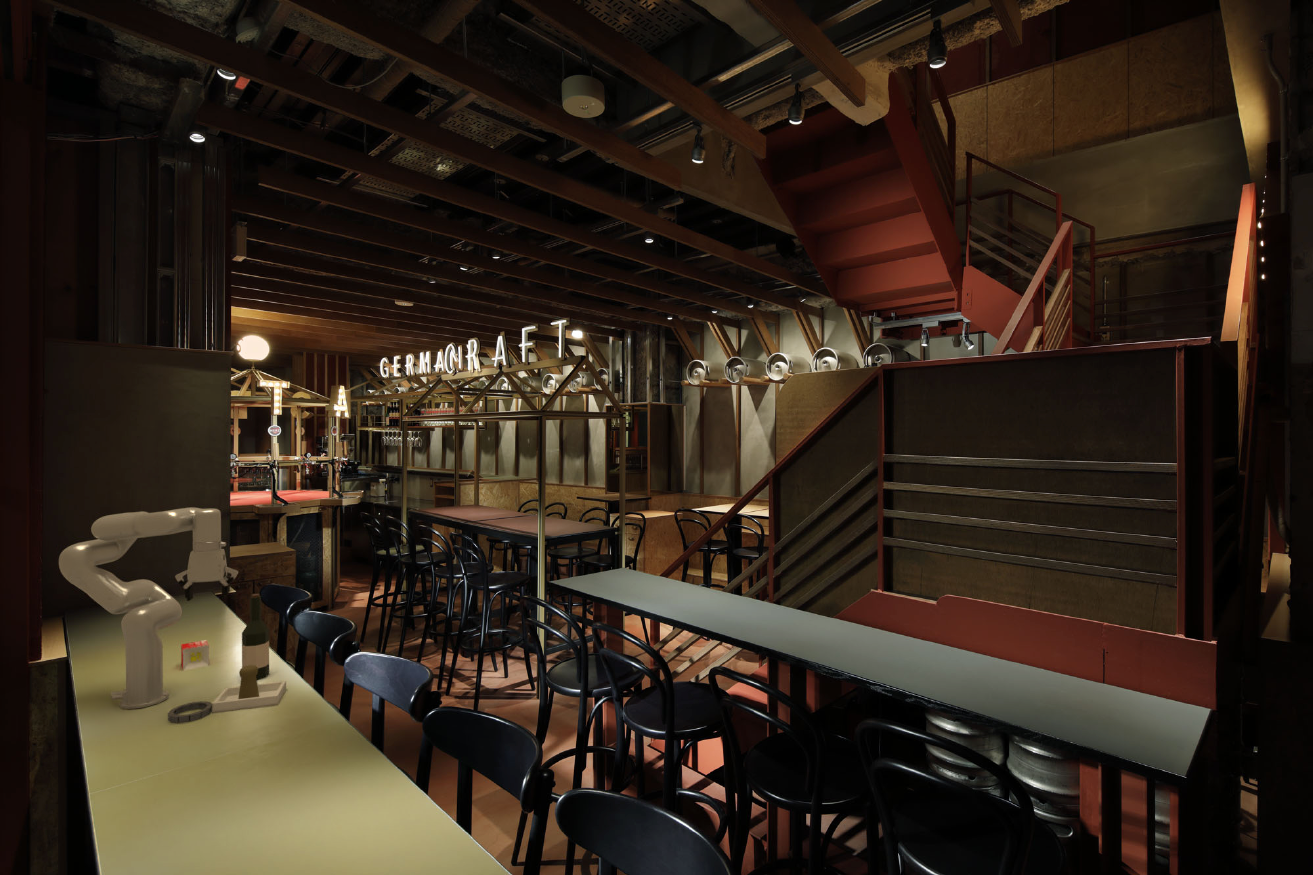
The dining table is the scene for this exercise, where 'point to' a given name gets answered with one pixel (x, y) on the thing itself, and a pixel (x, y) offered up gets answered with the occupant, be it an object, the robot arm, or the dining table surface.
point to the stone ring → (176, 718)
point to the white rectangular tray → (267, 697)
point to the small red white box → (194, 655)
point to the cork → (248, 682)
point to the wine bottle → (256, 640)
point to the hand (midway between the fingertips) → (207, 598)
